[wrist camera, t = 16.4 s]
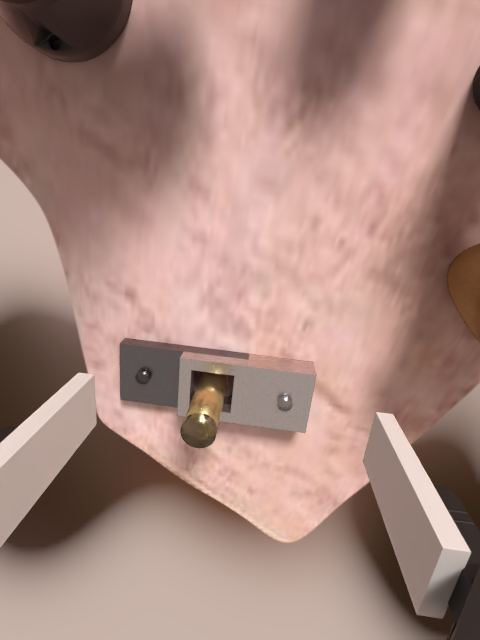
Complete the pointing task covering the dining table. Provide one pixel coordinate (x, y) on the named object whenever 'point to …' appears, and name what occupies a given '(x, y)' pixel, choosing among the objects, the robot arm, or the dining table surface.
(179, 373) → the door bolt
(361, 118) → the dining table surface
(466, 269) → the plant pot
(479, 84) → the travel mug
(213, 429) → the pin
